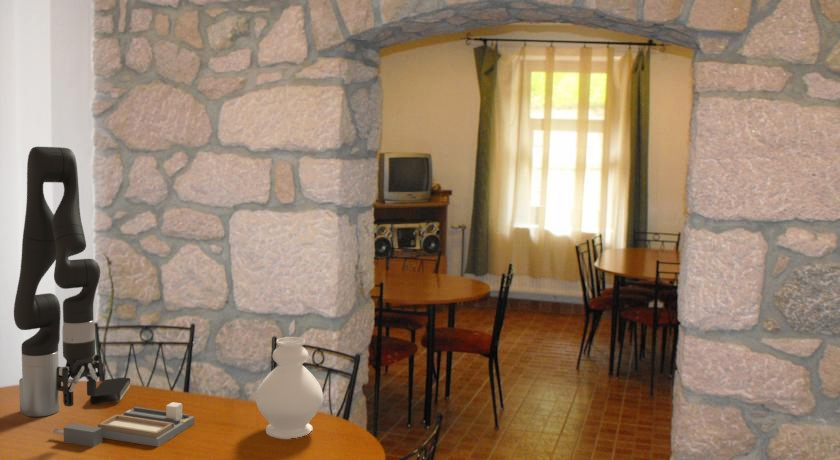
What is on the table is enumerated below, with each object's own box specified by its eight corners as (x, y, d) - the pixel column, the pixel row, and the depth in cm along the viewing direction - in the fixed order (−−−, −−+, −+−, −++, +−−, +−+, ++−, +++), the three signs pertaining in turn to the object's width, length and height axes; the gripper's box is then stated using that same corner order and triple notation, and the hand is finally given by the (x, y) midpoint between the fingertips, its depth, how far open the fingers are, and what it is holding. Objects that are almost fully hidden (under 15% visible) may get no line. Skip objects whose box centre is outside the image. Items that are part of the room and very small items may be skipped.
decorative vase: (288, 413, 228) (290, 328, 225) (335, 429, 218) (337, 340, 215) (241, 431, 214) (242, 340, 210) (289, 448, 203) (291, 353, 200)
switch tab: (166, 419, 214) (166, 405, 214) (172, 416, 217) (172, 402, 217) (176, 421, 213) (176, 407, 213) (182, 417, 216) (182, 403, 216)
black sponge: (119, 406, 230) (119, 394, 229) (88, 406, 229) (88, 394, 228) (131, 388, 246) (131, 376, 245) (103, 388, 245) (103, 376, 244)
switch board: (93, 436, 207) (93, 424, 206) (134, 414, 223) (134, 403, 222) (157, 446, 202) (157, 434, 201) (194, 423, 218) (194, 412, 217)
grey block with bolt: (50, 440, 204) (50, 425, 203) (59, 435, 207) (59, 421, 206) (93, 447, 200) (93, 432, 200) (102, 442, 203) (102, 427, 203)
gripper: (72, 346, 192) (73, 411, 194) (109, 333, 206) (111, 393, 207) (46, 343, 194) (48, 407, 196) (85, 330, 208) (86, 390, 209)
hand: (80, 400), depth 202 cm, fingers open, 8 cm apart
